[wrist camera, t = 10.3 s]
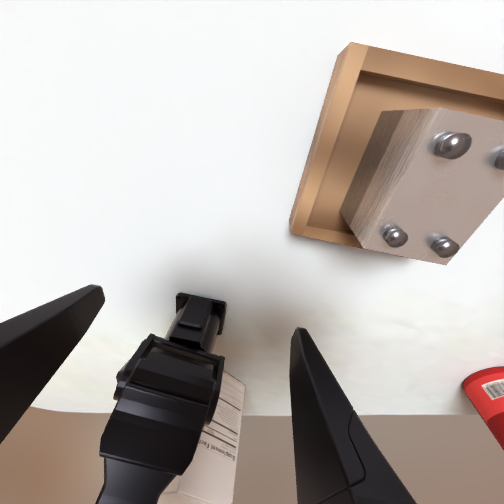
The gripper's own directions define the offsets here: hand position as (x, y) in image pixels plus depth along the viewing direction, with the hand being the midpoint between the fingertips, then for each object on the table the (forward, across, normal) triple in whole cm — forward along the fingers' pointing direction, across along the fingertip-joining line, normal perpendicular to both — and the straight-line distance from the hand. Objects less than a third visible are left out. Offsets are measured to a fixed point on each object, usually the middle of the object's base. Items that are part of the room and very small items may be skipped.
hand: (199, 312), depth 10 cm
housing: (+11, -11, -6) cm, 16 cm away
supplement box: (+13, 0, +34) cm, 37 cm away
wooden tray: (+13, -11, -6) cm, 18 cm away
